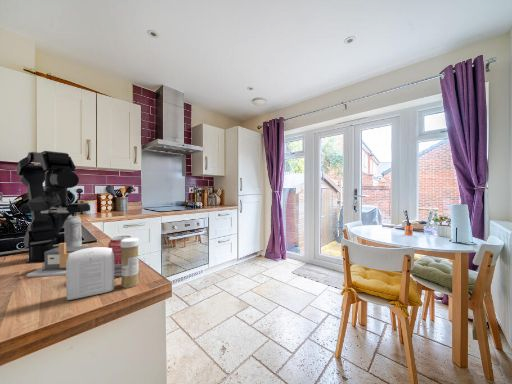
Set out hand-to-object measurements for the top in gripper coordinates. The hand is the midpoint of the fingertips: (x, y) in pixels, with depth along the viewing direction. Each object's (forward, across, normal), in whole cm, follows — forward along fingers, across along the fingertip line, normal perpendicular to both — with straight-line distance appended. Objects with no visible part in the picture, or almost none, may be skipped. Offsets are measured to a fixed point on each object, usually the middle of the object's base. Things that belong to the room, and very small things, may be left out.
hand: (57, 232), depth 75 cm
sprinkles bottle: (+12, +32, -17) cm, 38 cm away
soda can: (+13, +25, -8) cm, 29 cm away
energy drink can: (+13, -12, +24) cm, 30 cm away
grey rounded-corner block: (+13, +24, -21) cm, 34 cm away
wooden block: (+11, +7, -4) cm, 14 cm away
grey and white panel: (+13, +5, 0) cm, 14 cm away
